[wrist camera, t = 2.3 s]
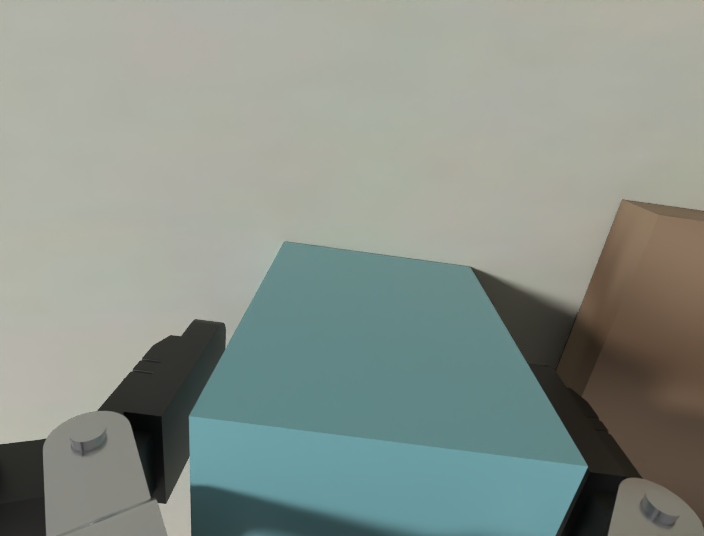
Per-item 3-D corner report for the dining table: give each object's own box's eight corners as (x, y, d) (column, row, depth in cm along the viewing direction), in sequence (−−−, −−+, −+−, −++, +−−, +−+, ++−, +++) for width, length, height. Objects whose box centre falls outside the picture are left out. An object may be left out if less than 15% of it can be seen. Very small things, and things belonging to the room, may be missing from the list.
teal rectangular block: (284, 241, 12) (188, 416, 5) (470, 266, 12) (588, 466, 6) (273, 392, 14) (193, 648, 7) (431, 412, 14) (486, 681, 8)
